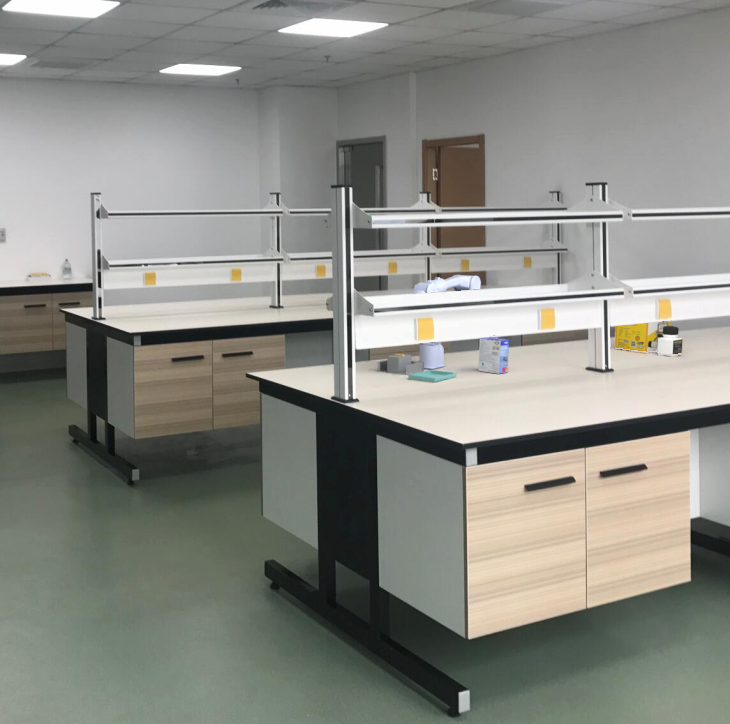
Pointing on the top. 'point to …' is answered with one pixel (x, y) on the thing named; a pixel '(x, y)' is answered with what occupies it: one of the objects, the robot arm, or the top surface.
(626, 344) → the packaging box
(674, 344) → the medicine bottle
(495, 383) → the top surface
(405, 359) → the toner caddy
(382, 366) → the printer bay
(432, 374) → the teal tray
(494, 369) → the ink cartridge box
